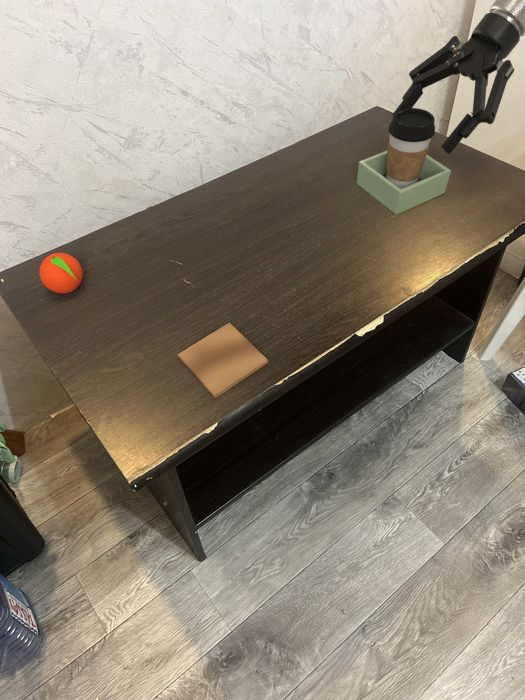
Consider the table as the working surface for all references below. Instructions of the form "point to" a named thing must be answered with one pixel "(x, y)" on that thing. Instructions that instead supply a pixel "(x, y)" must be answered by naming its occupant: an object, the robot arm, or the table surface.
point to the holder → (405, 198)
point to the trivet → (222, 359)
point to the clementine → (61, 273)
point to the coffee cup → (408, 145)
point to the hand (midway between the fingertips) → (419, 134)
